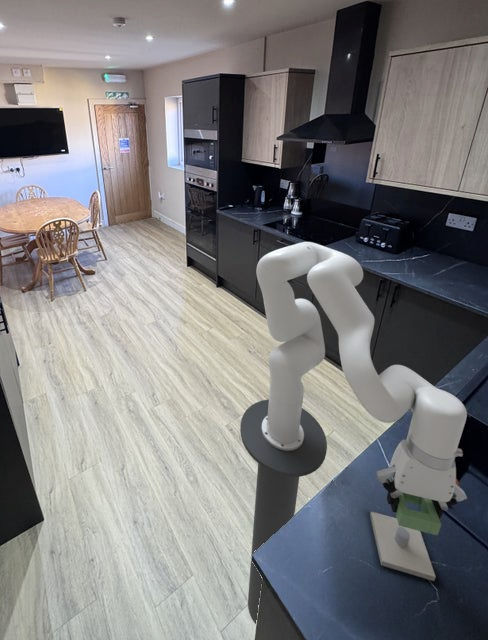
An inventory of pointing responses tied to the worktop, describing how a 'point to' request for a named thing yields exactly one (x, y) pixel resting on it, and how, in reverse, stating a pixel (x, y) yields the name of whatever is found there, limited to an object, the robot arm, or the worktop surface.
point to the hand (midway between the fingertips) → (412, 509)
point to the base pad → (401, 547)
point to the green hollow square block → (418, 514)
